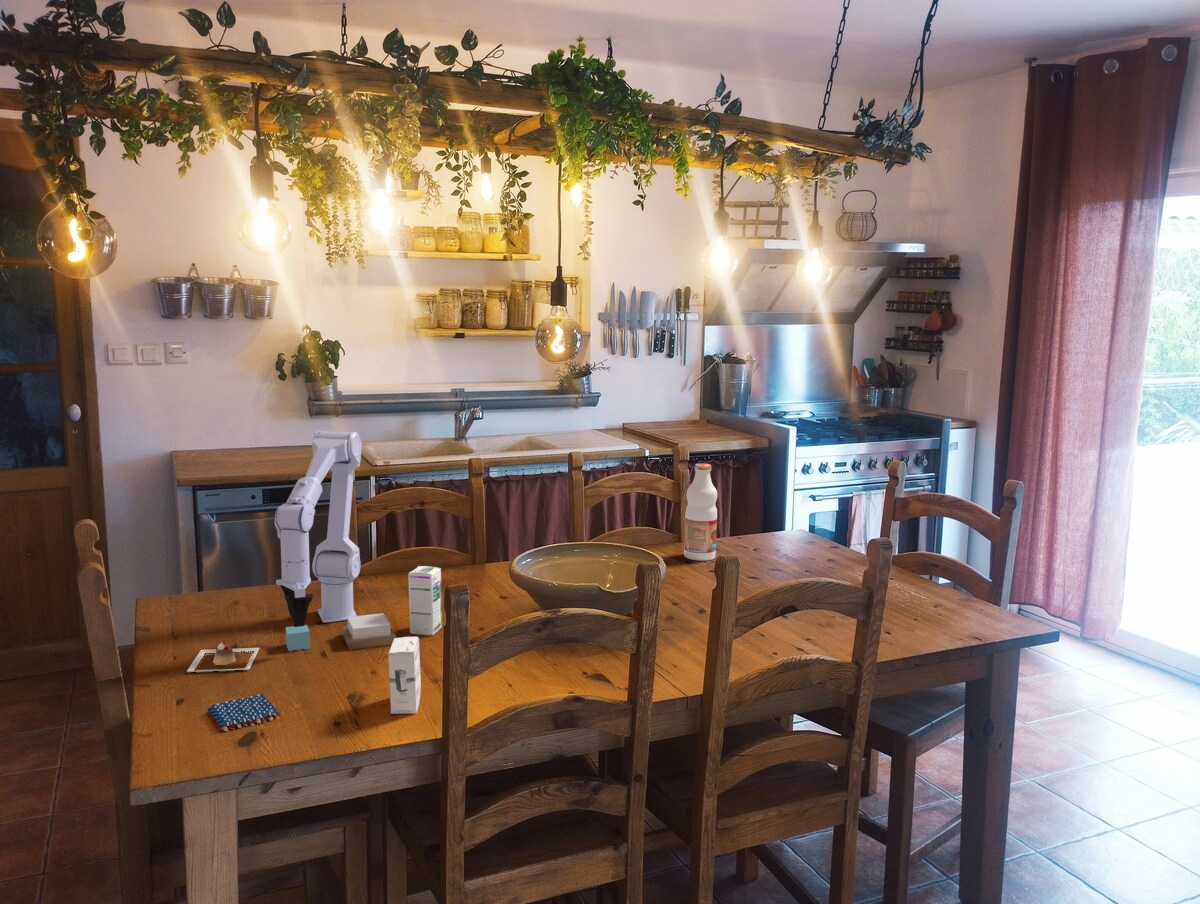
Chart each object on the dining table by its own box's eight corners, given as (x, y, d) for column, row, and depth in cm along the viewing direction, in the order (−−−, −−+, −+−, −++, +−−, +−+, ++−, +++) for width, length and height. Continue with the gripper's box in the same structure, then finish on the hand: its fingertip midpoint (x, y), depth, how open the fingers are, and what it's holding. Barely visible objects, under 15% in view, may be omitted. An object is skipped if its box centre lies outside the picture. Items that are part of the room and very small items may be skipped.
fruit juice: (679, 553, 289) (683, 462, 284) (709, 552, 291) (713, 461, 286) (689, 561, 280) (692, 467, 275) (719, 560, 282) (723, 467, 277)
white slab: (347, 627, 214) (347, 617, 213) (383, 623, 217) (383, 613, 216) (353, 639, 206) (353, 628, 206) (390, 635, 210) (390, 624, 209)
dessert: (260, 652, 205) (259, 631, 204) (249, 674, 193) (248, 651, 192) (200, 654, 203) (199, 633, 202) (186, 676, 191) (185, 653, 190)
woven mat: (282, 721, 172) (282, 710, 172) (221, 736, 166) (220, 725, 165) (265, 701, 180) (264, 691, 180) (206, 714, 174) (205, 704, 174)
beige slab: (342, 637, 215) (342, 626, 214) (387, 632, 219) (387, 621, 218) (349, 652, 206) (349, 641, 205) (396, 646, 210) (396, 635, 209)
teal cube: (286, 644, 208) (285, 627, 207) (307, 642, 210) (307, 624, 209) (288, 652, 204) (287, 634, 203) (310, 649, 206) (309, 631, 205)
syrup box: (433, 636, 215) (432, 573, 213) (408, 633, 216) (407, 571, 214) (442, 627, 220) (442, 566, 218) (418, 625, 222) (417, 565, 219)
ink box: (394, 695, 183) (393, 636, 181) (421, 695, 183) (420, 635, 181) (388, 715, 174) (387, 652, 172) (416, 714, 175) (416, 652, 173)
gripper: (272, 552, 209) (274, 612, 211) (279, 569, 196) (281, 633, 198) (305, 549, 212) (307, 608, 214) (314, 566, 199) (316, 629, 201)
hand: (297, 620), depth 206 cm, fingers open, 7 cm apart
